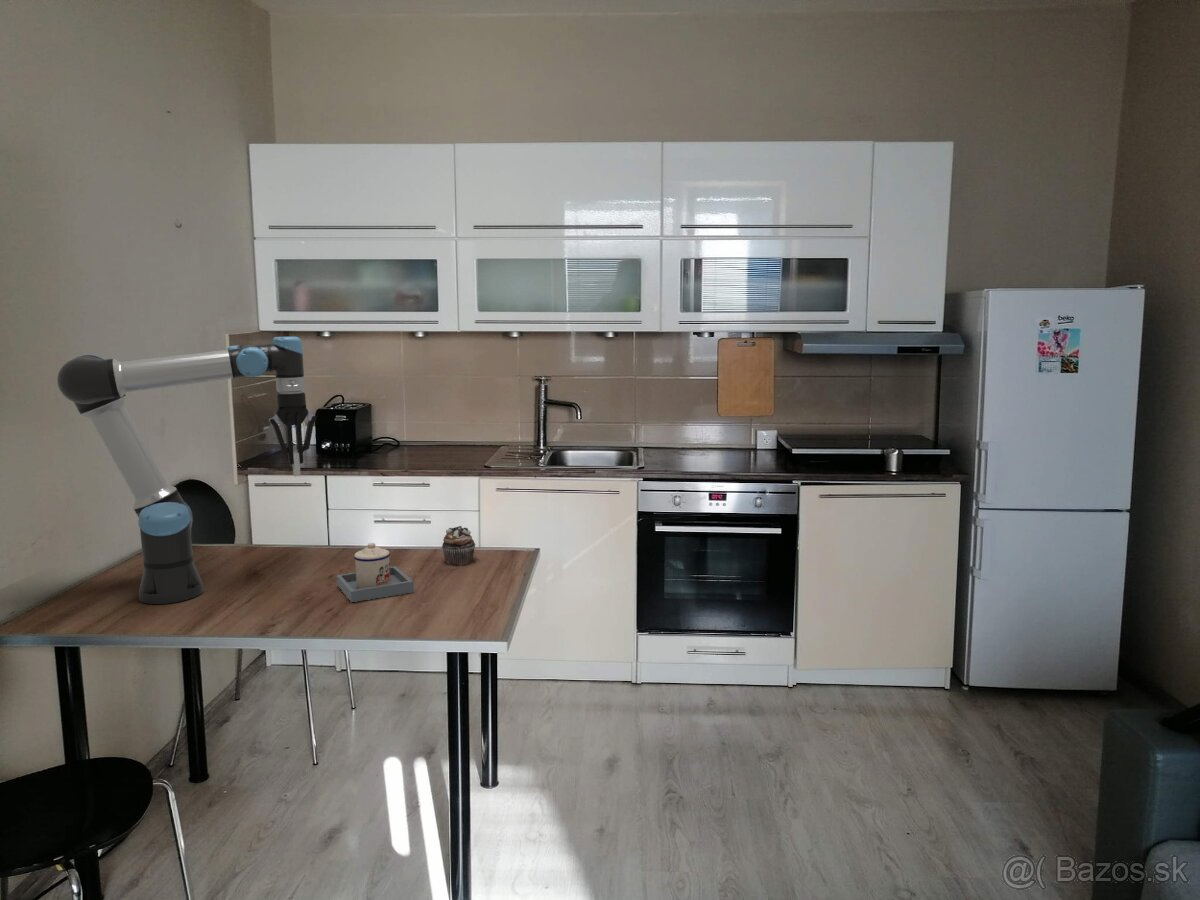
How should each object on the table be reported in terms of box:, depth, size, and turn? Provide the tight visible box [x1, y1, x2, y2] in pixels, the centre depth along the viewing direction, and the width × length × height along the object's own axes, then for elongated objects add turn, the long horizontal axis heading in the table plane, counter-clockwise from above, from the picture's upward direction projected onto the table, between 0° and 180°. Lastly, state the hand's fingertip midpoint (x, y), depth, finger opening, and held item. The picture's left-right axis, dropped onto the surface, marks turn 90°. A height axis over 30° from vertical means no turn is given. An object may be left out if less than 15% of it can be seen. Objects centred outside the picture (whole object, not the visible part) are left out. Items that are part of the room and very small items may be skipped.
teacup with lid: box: [353, 542, 391, 589], centre depth 236 cm, size 12×9×12 cm
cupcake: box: [441, 525, 476, 566], centre depth 260 cm, size 10×10×10 cm
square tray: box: [336, 565, 415, 603], centre depth 236 cm, size 16×16×3 cm
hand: (296, 475), depth 255 cm, fingers closed
